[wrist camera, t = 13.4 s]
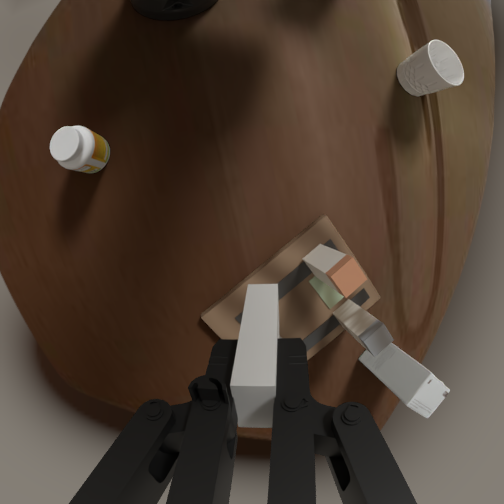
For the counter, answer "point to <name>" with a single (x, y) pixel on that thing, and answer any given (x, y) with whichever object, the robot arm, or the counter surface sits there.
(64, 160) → the supplement bottle
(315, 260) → the tab
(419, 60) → the white cup
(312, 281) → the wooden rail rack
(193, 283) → the counter surface
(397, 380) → the skincare box
